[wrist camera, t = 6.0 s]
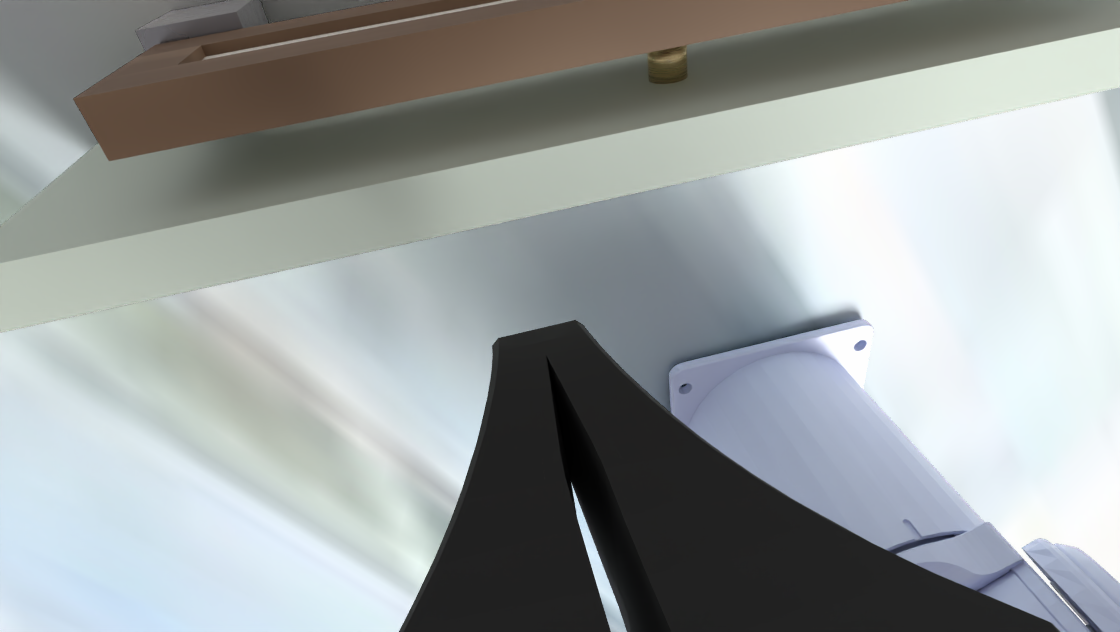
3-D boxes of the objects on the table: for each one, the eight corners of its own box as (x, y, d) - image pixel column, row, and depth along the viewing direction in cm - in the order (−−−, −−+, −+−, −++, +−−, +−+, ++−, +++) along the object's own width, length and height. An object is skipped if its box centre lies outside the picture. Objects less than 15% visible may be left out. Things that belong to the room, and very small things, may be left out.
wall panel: (1042, -5, 19) (1319, 43, 13) (131, 180, 17) (-10, 334, 11) (1083, -156, 17) (1433, -177, 11) (48, 33, 15) (-179, 130, 9)
